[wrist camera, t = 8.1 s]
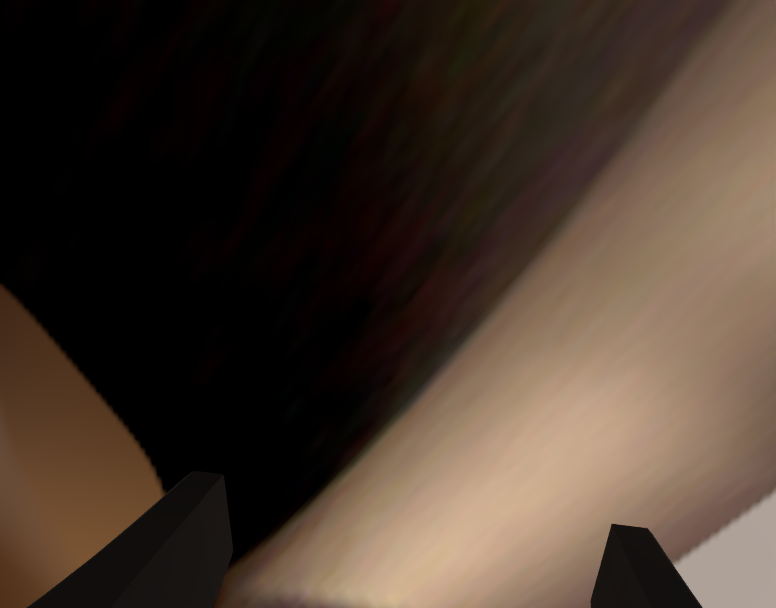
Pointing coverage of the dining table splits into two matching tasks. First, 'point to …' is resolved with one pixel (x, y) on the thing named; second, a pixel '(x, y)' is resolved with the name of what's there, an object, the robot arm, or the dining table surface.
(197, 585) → the robot arm
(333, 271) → the dining table surface
